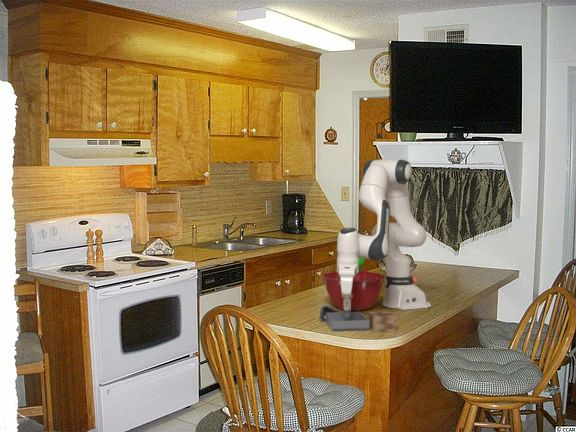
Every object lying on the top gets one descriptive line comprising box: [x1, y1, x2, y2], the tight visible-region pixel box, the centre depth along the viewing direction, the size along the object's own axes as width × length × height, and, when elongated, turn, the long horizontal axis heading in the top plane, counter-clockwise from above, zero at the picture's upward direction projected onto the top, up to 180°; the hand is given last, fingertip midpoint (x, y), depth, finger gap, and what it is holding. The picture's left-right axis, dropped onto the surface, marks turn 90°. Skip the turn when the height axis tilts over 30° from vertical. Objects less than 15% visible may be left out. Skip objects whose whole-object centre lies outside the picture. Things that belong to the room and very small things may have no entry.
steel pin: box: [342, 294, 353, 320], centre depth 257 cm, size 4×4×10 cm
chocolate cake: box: [319, 303, 341, 323], centre depth 269 cm, size 10×7×12 cm
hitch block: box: [367, 311, 397, 333], centre depth 253 cm, size 9×9×6 cm
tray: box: [325, 311, 370, 332], centre depth 258 cm, size 15×15×4 cm
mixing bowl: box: [322, 270, 385, 312], centre depth 290 cm, size 28×28×15 cm
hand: (347, 301), depth 257 cm, fingers closed on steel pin, 3 cm apart
